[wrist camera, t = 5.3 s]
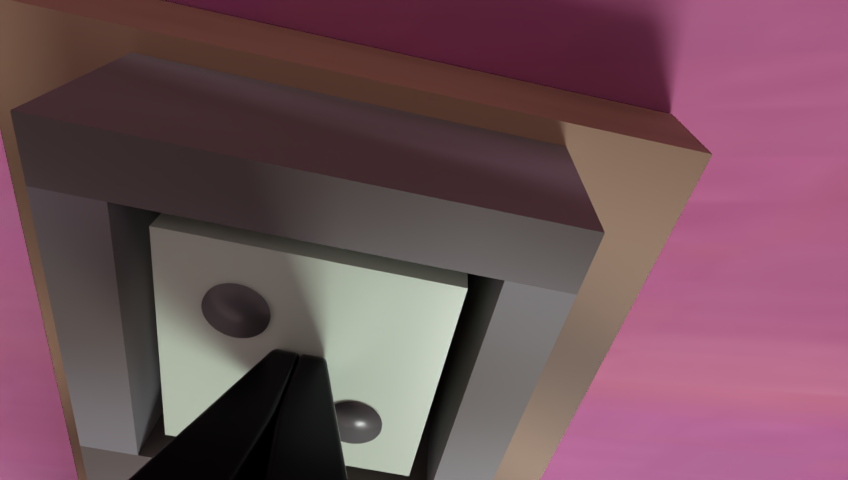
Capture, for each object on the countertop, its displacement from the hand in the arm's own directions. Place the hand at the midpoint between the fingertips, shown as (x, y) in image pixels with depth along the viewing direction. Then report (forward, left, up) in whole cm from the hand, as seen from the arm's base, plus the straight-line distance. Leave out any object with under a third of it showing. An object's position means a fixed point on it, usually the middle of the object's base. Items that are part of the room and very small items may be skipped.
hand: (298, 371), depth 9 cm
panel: (-7, 0, -5) cm, 9 cm away
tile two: (0, 0, -2) cm, 2 cm away
